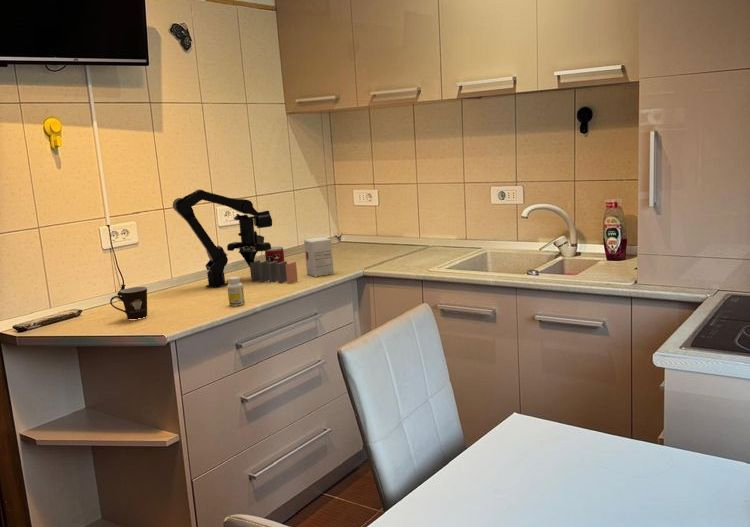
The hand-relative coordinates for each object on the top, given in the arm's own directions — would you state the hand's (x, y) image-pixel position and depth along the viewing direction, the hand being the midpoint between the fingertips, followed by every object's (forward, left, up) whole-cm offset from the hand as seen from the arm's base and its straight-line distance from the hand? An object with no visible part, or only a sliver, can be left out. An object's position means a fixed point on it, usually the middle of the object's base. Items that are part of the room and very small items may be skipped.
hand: (251, 267), depth 290 cm
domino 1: (0, -2, -6) cm, 6 cm away
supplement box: (+16, -23, -6) cm, 29 cm away
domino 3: (0, -11, -6) cm, 13 cm away
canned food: (+15, -1, -6) cm, 16 cm away
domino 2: (0, -7, -6) cm, 9 cm away
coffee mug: (-61, +4, -6) cm, 62 cm away
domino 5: (0, -20, -6) cm, 21 cm away
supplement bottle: (-36, -21, -6) cm, 42 cm away
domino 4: (0, -16, -6) cm, 17 cm away
